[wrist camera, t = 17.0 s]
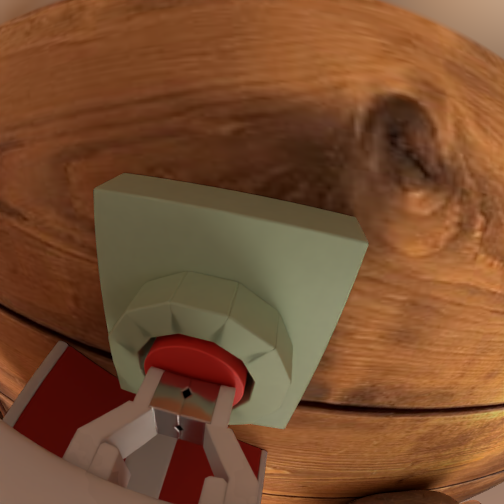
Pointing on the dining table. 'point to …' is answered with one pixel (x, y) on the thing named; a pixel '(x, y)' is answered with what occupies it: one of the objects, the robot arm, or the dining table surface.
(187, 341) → the push button
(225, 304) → the button box
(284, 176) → the dining table surface
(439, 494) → the bowl
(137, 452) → the white and red box
